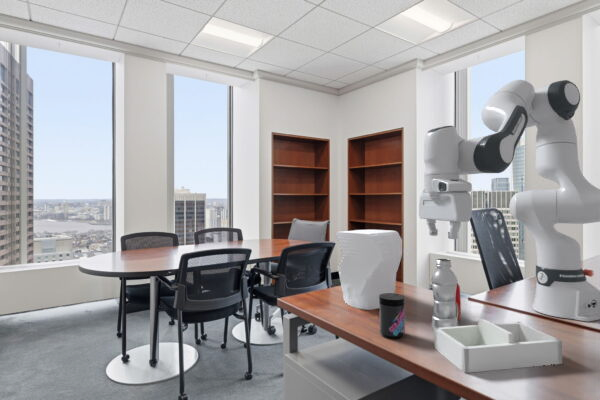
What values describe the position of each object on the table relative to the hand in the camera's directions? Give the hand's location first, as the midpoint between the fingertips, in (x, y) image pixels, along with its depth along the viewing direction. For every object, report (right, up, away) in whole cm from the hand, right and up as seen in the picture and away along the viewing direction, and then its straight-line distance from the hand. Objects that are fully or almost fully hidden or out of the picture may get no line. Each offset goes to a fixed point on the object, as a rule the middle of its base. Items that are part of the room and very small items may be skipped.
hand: (442, 237), depth 92 cm
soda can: (+6, -26, +11) cm, 29 cm away
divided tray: (+6, -26, -13) cm, 30 cm away
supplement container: (-14, -27, 0) cm, 30 cm away
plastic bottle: (0, -26, 0) cm, 26 cm away
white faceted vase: (-11, -27, +29) cm, 41 cm away
